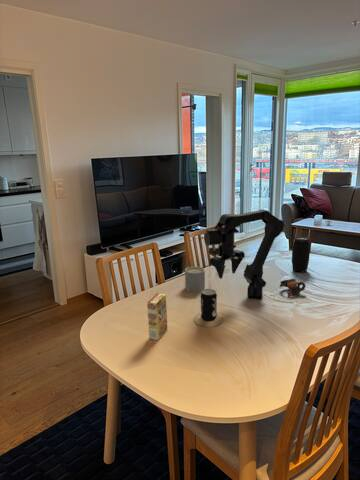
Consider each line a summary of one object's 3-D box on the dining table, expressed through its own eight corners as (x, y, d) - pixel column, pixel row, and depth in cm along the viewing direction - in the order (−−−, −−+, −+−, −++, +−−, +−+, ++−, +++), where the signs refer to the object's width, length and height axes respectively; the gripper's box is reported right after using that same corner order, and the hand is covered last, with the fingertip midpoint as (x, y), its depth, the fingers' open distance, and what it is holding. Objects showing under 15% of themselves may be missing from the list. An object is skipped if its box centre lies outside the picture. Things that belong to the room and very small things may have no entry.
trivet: (225, 315, 154) (225, 313, 153) (219, 328, 143) (219, 327, 142) (198, 312, 157) (198, 310, 157) (190, 324, 146) (190, 323, 146)
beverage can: (209, 323, 145) (209, 296, 142) (197, 318, 150) (197, 292, 147) (219, 317, 150) (219, 291, 147) (207, 313, 154) (207, 287, 151)
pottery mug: (282, 298, 171) (278, 281, 173) (282, 299, 180) (278, 282, 182) (308, 293, 168) (303, 276, 170) (307, 294, 177) (303, 278, 179)
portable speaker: (288, 268, 209) (290, 236, 204) (303, 267, 210) (306, 235, 205) (295, 273, 201) (297, 239, 196) (311, 272, 202) (313, 239, 197)
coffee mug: (195, 293, 177) (195, 274, 174) (181, 288, 184) (181, 269, 181) (213, 286, 186) (213, 267, 183) (199, 281, 193) (199, 263, 190)
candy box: (158, 340, 135) (157, 303, 131) (148, 338, 136) (146, 301, 132) (167, 329, 143) (166, 294, 139) (158, 328, 144) (156, 292, 140)
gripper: (226, 236, 171) (226, 267, 175) (199, 243, 159) (200, 276, 163) (245, 240, 163) (244, 272, 167) (219, 248, 151) (219, 283, 155)
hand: (227, 275), depth 163 cm, fingers open, 9 cm apart
